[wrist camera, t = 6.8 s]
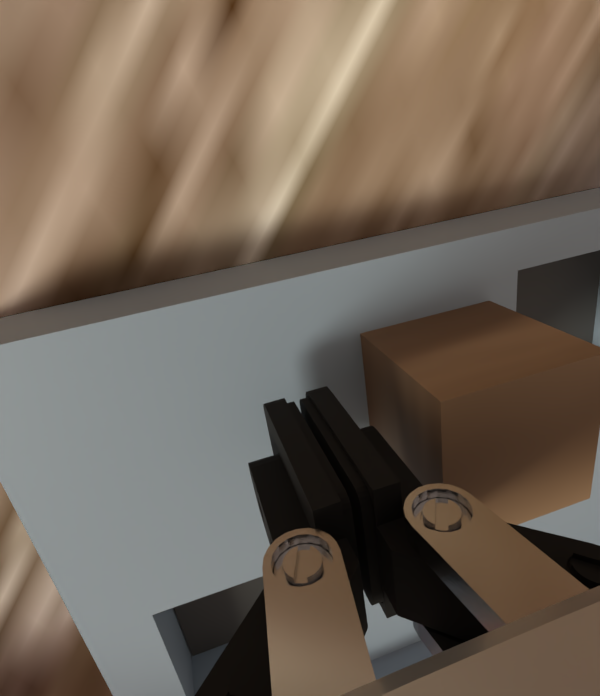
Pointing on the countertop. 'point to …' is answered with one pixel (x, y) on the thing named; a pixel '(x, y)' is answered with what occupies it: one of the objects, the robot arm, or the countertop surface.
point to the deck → (240, 419)
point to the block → (488, 406)
